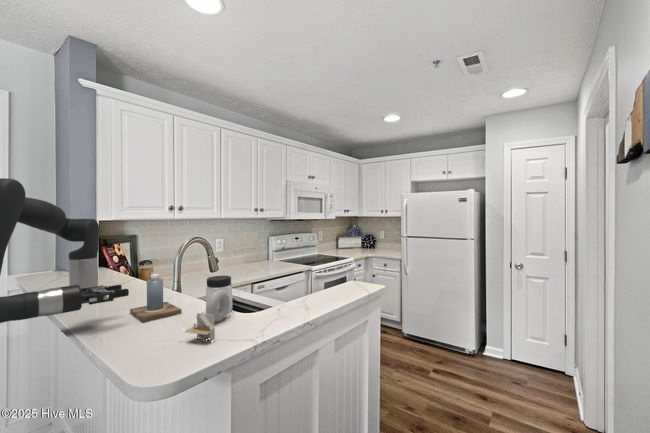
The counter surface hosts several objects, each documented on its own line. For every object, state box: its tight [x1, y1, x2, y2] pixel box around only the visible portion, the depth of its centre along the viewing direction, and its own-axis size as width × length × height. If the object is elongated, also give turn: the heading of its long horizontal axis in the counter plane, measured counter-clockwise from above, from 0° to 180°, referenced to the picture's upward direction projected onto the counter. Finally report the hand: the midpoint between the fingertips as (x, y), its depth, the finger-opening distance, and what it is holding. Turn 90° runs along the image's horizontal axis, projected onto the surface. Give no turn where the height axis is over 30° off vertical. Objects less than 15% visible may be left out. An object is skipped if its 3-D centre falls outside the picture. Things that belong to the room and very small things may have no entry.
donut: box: [205, 290, 230, 323], centre depth 98 cm, size 10×4×10 cm, turn 163°
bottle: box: [146, 273, 164, 311], centre depth 107 cm, size 5×5×12 cm
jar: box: [205, 275, 233, 314], centre depth 108 cm, size 9×8×12 cm
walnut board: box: [129, 301, 182, 323], centre depth 107 cm, size 14×12×2 cm
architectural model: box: [184, 312, 216, 342], centre depth 83 cm, size 3×7×7 cm, turn 73°
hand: (124, 289), depth 100 cm, fingers open, 8 cm apart
